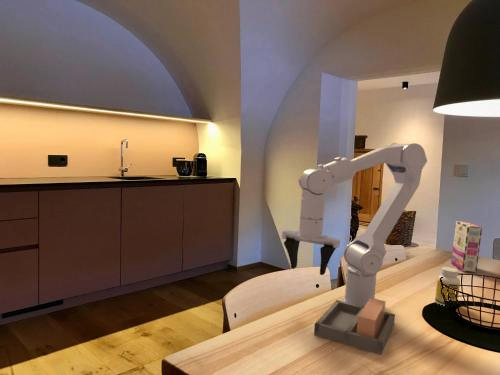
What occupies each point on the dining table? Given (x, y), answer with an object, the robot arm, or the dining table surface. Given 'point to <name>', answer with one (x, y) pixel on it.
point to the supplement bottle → (449, 280)
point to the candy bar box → (466, 246)
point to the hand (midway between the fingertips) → (307, 270)
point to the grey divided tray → (351, 327)
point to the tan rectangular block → (371, 318)
